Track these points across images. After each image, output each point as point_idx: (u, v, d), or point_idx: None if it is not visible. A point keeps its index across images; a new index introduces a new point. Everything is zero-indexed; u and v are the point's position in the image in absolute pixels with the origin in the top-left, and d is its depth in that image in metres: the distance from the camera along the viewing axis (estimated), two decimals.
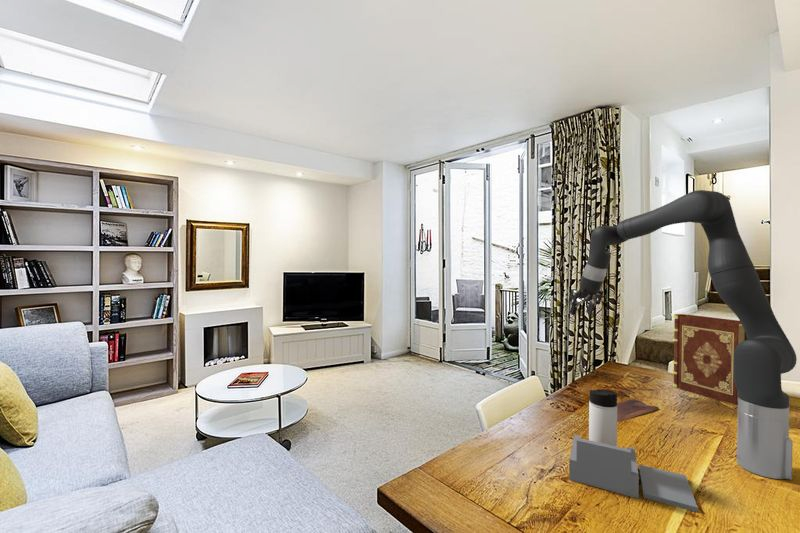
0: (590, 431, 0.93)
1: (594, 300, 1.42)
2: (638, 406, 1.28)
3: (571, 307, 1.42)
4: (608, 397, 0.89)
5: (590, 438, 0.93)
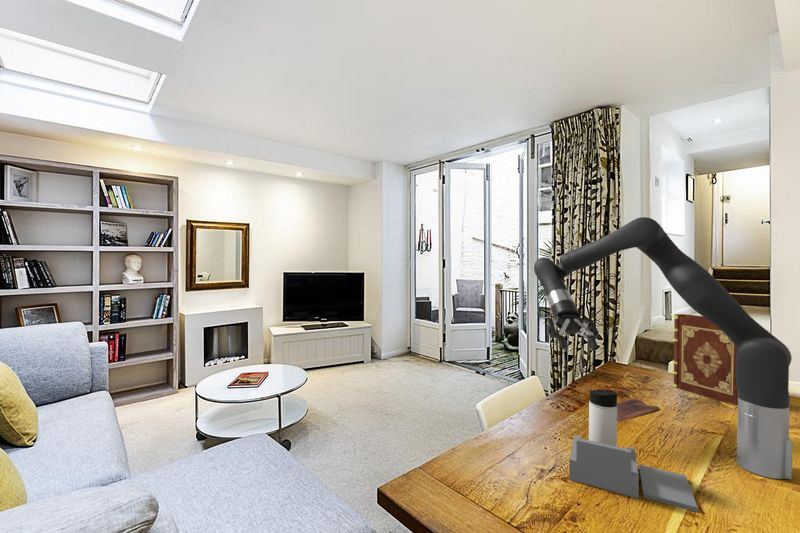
0: (590, 431, 0.93)
1: (583, 326, 1.11)
2: (639, 406, 1.28)
3: (558, 341, 1.10)
4: (608, 397, 0.89)
5: (590, 438, 0.93)
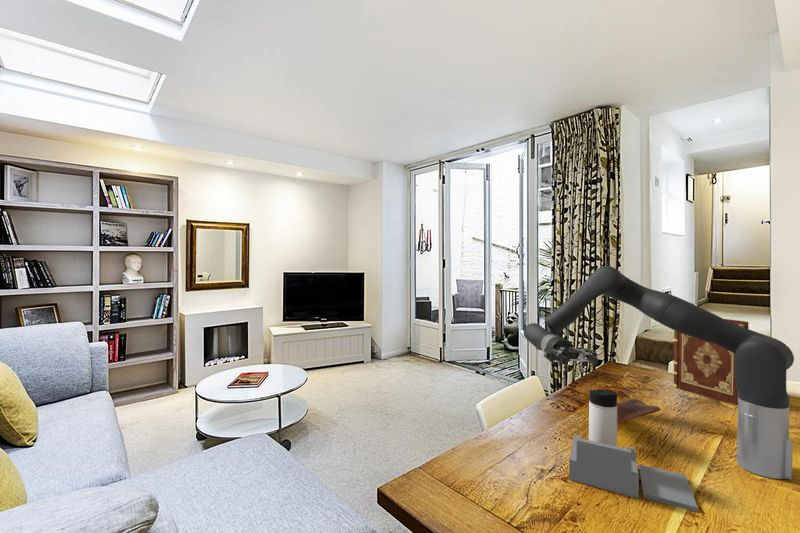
0: (590, 431, 0.93)
1: (580, 350, 1.10)
2: (639, 406, 1.28)
3: (558, 360, 1.06)
4: (608, 397, 0.89)
5: (590, 438, 0.93)
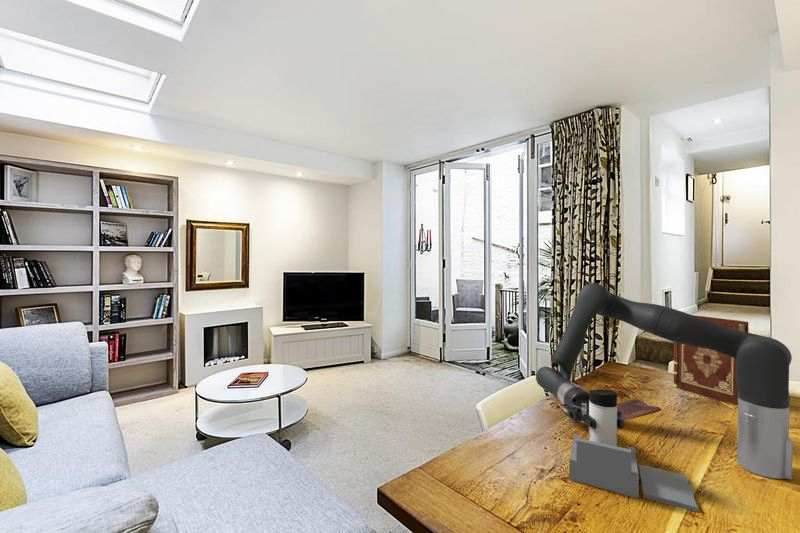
0: (590, 431, 0.93)
1: None
2: (639, 406, 1.28)
3: (584, 421, 0.93)
4: (608, 397, 0.89)
5: (590, 438, 0.93)
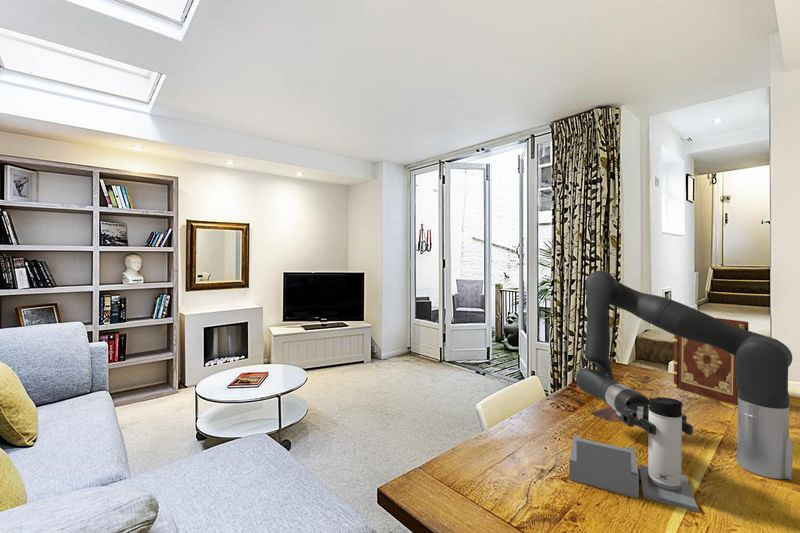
0: (651, 443, 0.85)
1: None
2: None
3: (641, 426, 0.85)
4: (673, 406, 0.81)
5: (651, 451, 0.85)
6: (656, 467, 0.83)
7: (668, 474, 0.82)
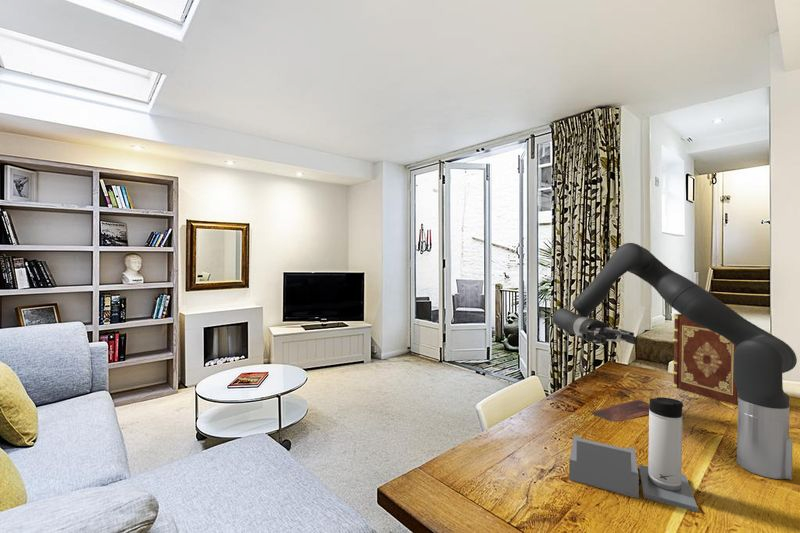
0: (651, 444, 0.84)
1: (616, 330, 1.10)
2: (642, 407, 1.28)
3: (596, 340, 1.06)
4: (674, 406, 0.81)
5: (651, 451, 0.84)
6: (656, 467, 0.83)
7: (668, 474, 0.82)
